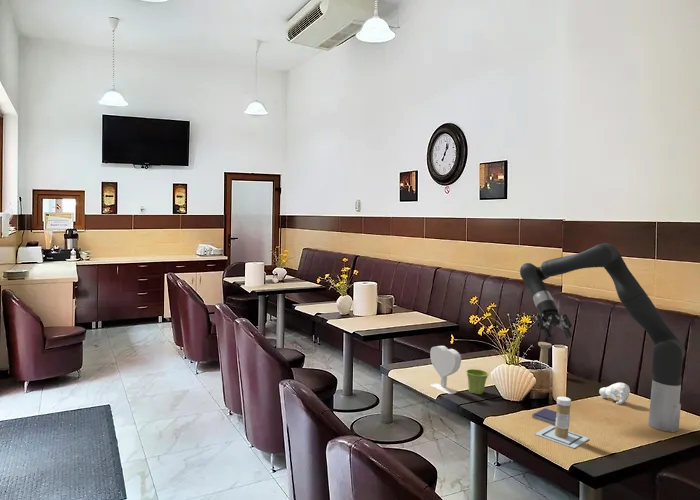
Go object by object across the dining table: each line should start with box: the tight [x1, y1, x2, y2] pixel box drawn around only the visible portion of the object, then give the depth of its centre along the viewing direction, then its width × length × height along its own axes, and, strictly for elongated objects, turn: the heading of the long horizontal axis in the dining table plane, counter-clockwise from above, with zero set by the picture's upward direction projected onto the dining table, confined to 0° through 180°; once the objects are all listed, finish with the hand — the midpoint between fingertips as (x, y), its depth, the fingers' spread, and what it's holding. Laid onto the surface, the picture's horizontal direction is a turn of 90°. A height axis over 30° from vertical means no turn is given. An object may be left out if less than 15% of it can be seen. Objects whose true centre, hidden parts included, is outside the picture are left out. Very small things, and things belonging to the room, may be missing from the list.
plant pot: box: [465, 368, 489, 395], centre depth 228 cm, size 9×9×9 cm
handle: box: [537, 341, 552, 365], centre depth 258 cm, size 5×6×15 cm
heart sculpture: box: [429, 345, 462, 395], centre depth 230 cm, size 16×5×18 cm, turn 34°
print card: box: [534, 424, 590, 450], centre depth 185 cm, size 14×12×1 cm
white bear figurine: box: [599, 382, 631, 405], centre depth 224 cm, size 6×8×12 cm
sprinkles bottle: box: [554, 396, 572, 438], centre depth 185 cm, size 5×5×13 cm
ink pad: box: [531, 407, 557, 426], centre depth 202 cm, size 9×10×2 cm
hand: (559, 337), depth 211 cm, fingers open, 8 cm apart
